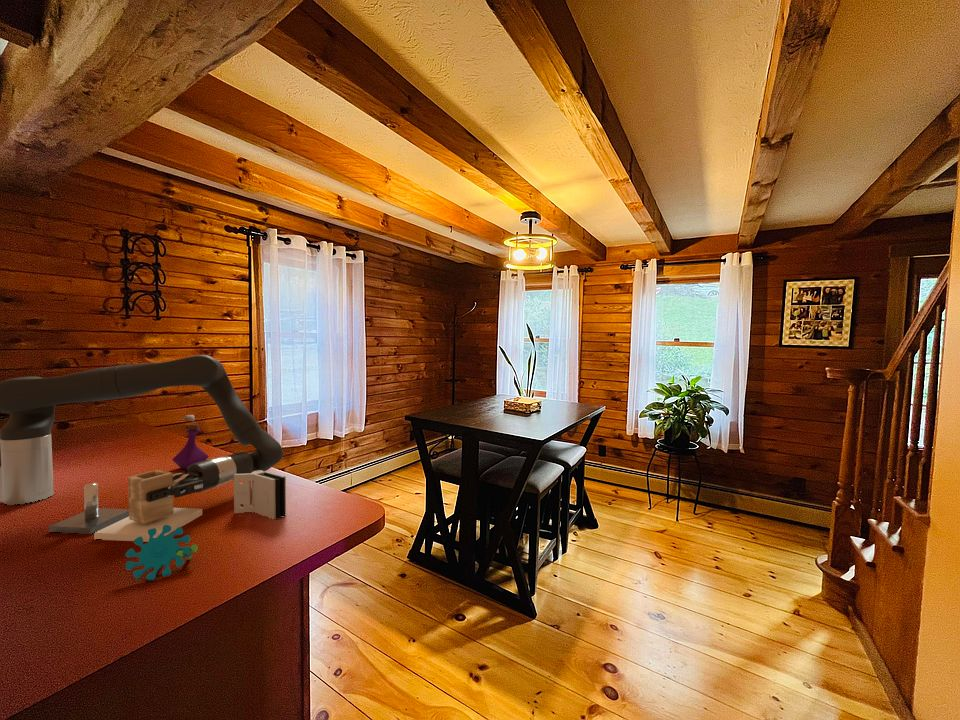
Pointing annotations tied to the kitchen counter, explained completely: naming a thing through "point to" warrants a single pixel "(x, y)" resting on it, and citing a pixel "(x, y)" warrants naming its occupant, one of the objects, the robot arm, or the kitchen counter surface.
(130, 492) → the sleeve
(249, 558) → the kitchen counter surface
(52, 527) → the stand
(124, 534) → the board
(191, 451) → the perfume bottle
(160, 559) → the gear
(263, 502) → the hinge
